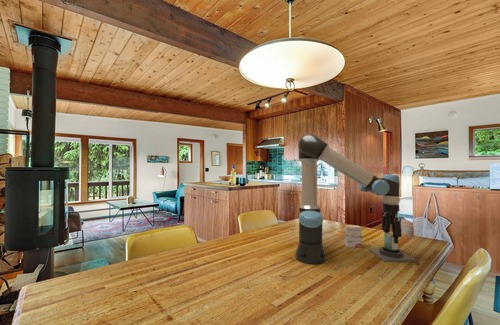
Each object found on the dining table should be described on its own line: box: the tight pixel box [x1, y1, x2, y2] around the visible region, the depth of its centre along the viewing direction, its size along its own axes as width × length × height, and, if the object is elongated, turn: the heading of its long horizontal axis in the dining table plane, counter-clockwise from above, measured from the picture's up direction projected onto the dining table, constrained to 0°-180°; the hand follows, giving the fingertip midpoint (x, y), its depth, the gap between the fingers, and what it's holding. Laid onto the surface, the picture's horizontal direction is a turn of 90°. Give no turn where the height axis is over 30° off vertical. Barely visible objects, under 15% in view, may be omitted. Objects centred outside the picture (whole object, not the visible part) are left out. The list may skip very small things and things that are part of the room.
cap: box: [383, 233, 399, 251], centre depth 130 cm, size 6×6×7 cm
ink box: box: [344, 224, 363, 249], centre depth 145 cm, size 9×5×12 cm, turn 84°
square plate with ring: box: [368, 246, 417, 263], centre depth 130 cm, size 16×16×3 cm
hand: (391, 246), depth 130 cm, fingers closed on cap, 6 cm apart
